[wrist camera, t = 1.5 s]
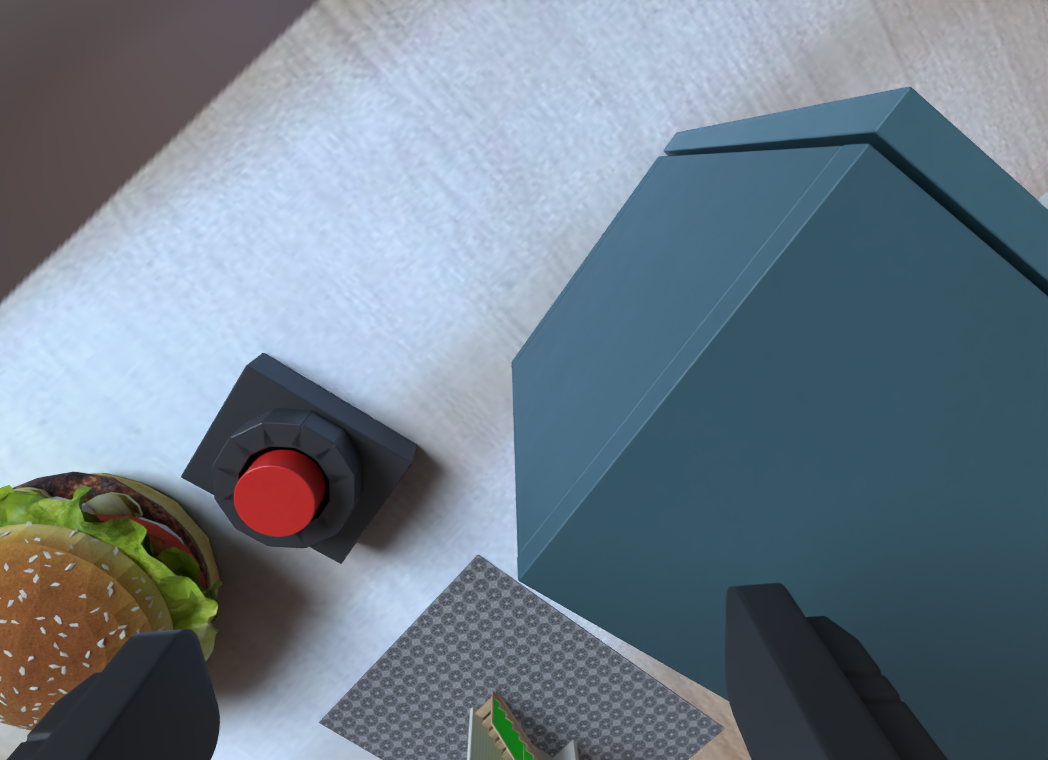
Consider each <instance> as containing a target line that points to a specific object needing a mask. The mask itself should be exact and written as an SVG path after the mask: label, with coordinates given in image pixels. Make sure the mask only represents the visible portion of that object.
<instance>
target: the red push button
mask: <svg viewBox="0 0 1048 760" xmlns="http://www.w3.org/2000/svg"><path fill="white" fill-rule="evenodd" d="M324 493H325V481H324V477H323V475H322V472H321V471H320V469H319V468H318V466H317V465H316V464H315V463H314V462H313V461H312V460H311V459H310V458H308V457H307V456H305V455H303V454H301V453H299V452H296V451H292V450H274V451H270V452H267V453H265V454H263V455H261V456H260V457H259V458H257V459H256V460H255V461H254V463H253V464H252V465H251V466H250V467H249V468H248V470H247V471H246V472H245V473H244V474H243V476H242V477H241V478H240V479H239V481H238V482H237V484H236V487H235V490H234V505H235V508H236V510H237V513H238V515H239V516H240V518H241V519H242V520H243V521H244V522H245V523H246V524H247V525H248V526H249V527H250V528H252V529H253V530H255V531H257V532H259V533H261V534H264V535H268V536H274V537H283V536H289V535H292V534H295V533H297V532H299V531H301V530H302V529H304V528H305V527H306V526H307V525H308V524H309V523H310V521H311V520H312V518H313V516H314V514H315V512H316V511H317V509H318V507H319V505H320V503H321V501H322V500H323V497H324Z"/></svg>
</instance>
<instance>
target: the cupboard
mask: <svg viewBox="0 0 1048 760" xmlns="http://www.w3.org/2000/svg"><path fill="white" fill-rule="evenodd" d="M512 383H513V415H514V448H515V481H516V513H517V546H518V557H517V563H518V580H519V581H520V582H522V583H523V584H525V585H527V586H529V587H530V588H532V589H534V590H536V591H537V592H539V593H541V594H543V595H544V596H546V597H548V598H550V599H551V600H553V601H555V602H557V603H558V604H560V605H562V606H564V607H565V608H567V609H569V610H571V611H572V612H574V613H576V614H578V615H579V616H581V617H583V618H585V619H586V620H588V621H590V622H592V623H593V624H595V625H597V626H599V627H600V628H602V629H604V630H606V631H607V632H609V633H611V634H613V635H614V636H616V637H618V638H620V639H621V640H623V641H625V642H627V643H628V644H630V645H632V646H634V647H635V648H637V649H639V650H641V651H642V652H644V653H646V654H647V655H649V656H651V657H653V658H654V659H656V660H658V661H660V662H661V663H663V664H665V665H667V666H668V667H670V668H672V669H674V670H675V671H677V672H679V673H681V674H682V675H684V676H686V677H688V678H689V679H691V680H693V681H695V682H696V683H698V684H700V685H702V686H703V687H705V688H707V689H709V690H710V691H712V692H714V693H716V694H717V695H719V696H721V697H723V698H724V699H726V700H728V701H729V698H728V693H727V688H726V681H725V625H726V595H727V591H728V588H729V587H731V586H743V585H756V584H768V583H781V584H783V585H784V586H785V587H786V588H787V590H788V591H789V593H790V594H791V596H792V597H793V599H794V600H795V602H796V603H797V605H798V606H799V608H800V609H801V611H802V612H803V614H804V615H805V617H814V616H826V617H828V618H829V619H830V620H832V621H833V622H835V623H836V624H837V625H839V626H840V627H841V628H843V629H844V630H846V631H847V632H848V633H850V634H851V635H853V636H854V637H855V638H857V639H858V640H859V641H860V643H861V644H862V645H863V647H864V648H865V649H866V651H867V652H868V653H869V655H870V656H871V657H872V659H873V660H874V661H875V663H876V664H877V665H878V667H879V668H880V671H881V674H882V676H883V675H885V676H886V677H887V679H888V680H889V681H890V683H891V684H892V685H893V687H894V688H895V689H896V691H897V692H898V693H899V695H900V700H901V701H902V702H905V703H906V704H907V705H908V707H909V708H910V709H911V711H912V712H913V713H914V715H915V716H916V717H917V719H918V720H919V721H920V723H921V724H922V726H923V727H924V728H925V730H926V731H927V732H928V734H929V735H930V736H931V738H932V739H933V740H934V742H935V743H936V744H937V746H938V747H939V748H940V750H941V751H942V752H943V754H944V755H945V756H946V758H947V759H948V760H1048V296H1047V295H1046V294H1045V293H1044V292H1042V291H1041V290H1040V289H1039V288H1038V287H1037V286H1035V285H1034V284H1033V283H1032V282H1031V281H1030V280H1028V279H1027V278H1026V277H1025V276H1024V275H1023V274H1021V273H1020V272H1019V271H1018V270H1017V269H1016V268H1014V267H1013V266H1012V265H1011V264H1010V263H1008V262H1007V261H1006V260H1005V259H1004V258H1003V257H1001V256H1000V255H999V254H998V253H997V252H996V251H994V250H993V249H992V248H991V247H990V246H989V245H987V244H986V243H985V242H984V241H983V240H982V239H980V238H979V237H978V236H977V235H976V234H974V233H973V232H972V231H971V230H970V229H969V228H967V227H966V226H965V225H964V224H963V223H962V222H960V221H959V220H958V219H957V218H956V217H955V216H953V215H952V214H951V213H950V212H949V211H948V210H946V209H945V208H944V207H943V206H942V205H940V204H939V203H938V202H937V201H936V200H935V199H933V198H932V197H931V196H930V195H929V194H928V193H926V192H925V191H924V190H923V189H922V188H921V187H919V186H918V185H917V184H916V183H915V182H914V181H912V180H911V179H910V178H909V177H908V176H907V175H905V174H904V173H903V172H902V171H901V170H899V169H898V168H897V167H896V166H895V165H894V164H892V163H891V162H890V161H889V160H888V159H887V158H885V157H884V156H883V155H882V154H881V153H880V152H878V151H877V150H876V149H875V148H874V147H873V146H871V145H870V144H852V145H844V146H830V147H814V148H797V149H781V150H764V151H748V152H732V153H715V154H699V155H682V156H666V157H664V156H661V157H658V158H657V160H656V161H655V162H654V164H653V165H652V167H651V168H650V169H649V171H648V172H647V174H646V175H645V176H644V178H643V179H642V181H641V182H640V183H639V185H638V186H637V188H636V189H635V190H634V192H633V193H632V195H631V196H630V197H629V199H628V200H627V202H626V203H625V204H624V206H623V207H622V208H621V210H620V211H619V213H618V214H617V215H616V217H615V218H614V220H613V221H612V222H611V224H610V225H609V227H608V228H607V229H606V231H605V232H604V234H603V235H602V236H601V238H600V239H599V241H598V242H597V243H596V245H595V246H594V248H593V249H592V250H591V252H590V253H589V255H588V256H587V257H586V259H585V260H584V262H583V263H582V264H581V266H580V267H579V269H578V270H577V271H576V273H575V274H574V276H573V277H572V278H571V280H570V281H569V283H568V284H567V285H566V287H565V288H564V290H563V291H562V292H561V294H560V295H559V297H558V298H557V299H556V301H555V302H554V304H553V305H552V306H551V308H550V309H549V311H548V312H547V313H546V315H545V316H544V318H543V319H542V320H541V322H540V323H539V325H538V326H537V327H536V329H535V330H534V332H533V333H532V334H531V336H530V337H529V339H528V340H527V341H526V343H525V344H524V346H523V347H522V348H521V350H520V351H519V353H518V354H517V355H516V357H515V358H514V360H513V361H512Z"/></svg>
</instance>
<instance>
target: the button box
mask: <svg viewBox="0 0 1048 760" xmlns="http://www.w3.org/2000/svg"><path fill="white" fill-rule="evenodd" d="M416 448H417V445H416V444H414V443H413V442H411V441H409V440H408V439H406V438H404V437H403V436H401V435H399V434H398V433H396V432H394V431H393V430H391V429H389V428H388V427H386V426H384V425H383V424H381V423H379V422H378V421H376V420H374V419H373V418H371V417H369V416H368V415H366V414H364V413H363V412H361V411H359V410H358V409H356V408H354V407H353V406H351V405H349V404H348V403H346V402H344V401H343V400H341V399H339V398H338V397H336V396H334V395H333V394H331V393H329V392H328V391H326V390H324V389H323V388H321V387H319V386H318V385H316V384H314V383H313V382H311V381H309V380H308V379H306V378H304V377H303V376H301V375H299V374H298V373H296V372H295V371H293V370H291V369H290V368H288V367H286V366H285V365H283V364H281V363H280V362H278V361H276V360H275V359H273V358H271V357H270V356H268V355H266V354H265V353H262V354H261V355H259V356H258V357H257V358H256V359H254V360H253V361H252V362H250V363H249V364H248V365H246V367H245V368H244V370H243V372H242V374H241V375H240V377H239V379H238V380H237V382H236V384H235V385H234V387H233V389H232V391H231V392H230V394H229V396H228V397H227V399H226V401H225V402H224V404H223V406H222V408H221V409H220V411H219V413H218V414H217V416H216V418H215V420H214V421H213V423H212V425H211V426H210V428H209V430H208V431H207V433H206V435H205V437H204V438H203V440H202V442H201V443H200V445H199V447H198V448H197V450H196V452H195V454H194V455H193V457H192V459H191V460H190V462H189V464H188V465H187V467H186V469H185V471H184V472H183V474H182V476H181V477H182V478H183V479H185V480H187V481H189V482H191V483H193V484H194V485H196V486H198V487H200V488H202V489H204V490H205V491H207V492H209V493H211V494H213V495H214V496H215V500H216V502H217V503H218V505H219V506H220V507H221V509H222V510H223V512H224V513H225V514H226V516H227V517H228V519H229V520H230V521H231V523H232V524H233V526H234V527H235V528H236V529H237V530H239V531H241V532H243V533H244V534H246V535H248V536H250V537H252V538H254V539H256V540H257V541H259V542H261V543H263V544H265V545H267V546H273V547H291V548H307V547H311V548H313V549H314V550H316V551H318V552H320V553H322V554H324V555H325V556H327V557H329V558H331V559H333V560H335V561H337V562H338V563H340V564H341V563H342V562H343V561H344V559H345V558H346V556H347V555H348V554H349V552H350V551H351V549H352V548H353V546H354V545H355V544H356V542H357V541H358V539H359V538H360V536H361V535H362V534H363V532H364V531H365V529H366V528H367V526H368V525H369V524H370V522H371V521H372V519H373V518H374V516H375V515H376V514H377V512H378V511H379V509H380V508H381V506H382V505H383V504H384V502H385V501H386V499H387V498H388V496H389V495H390V494H391V492H392V491H393V489H394V488H395V486H396V485H397V484H398V482H399V481H400V479H401V478H402V476H403V475H404V474H405V472H406V471H407V469H408V468H409V466H410V465H411V463H412V460H413V457H414V454H415V451H416ZM274 450H292V451H296V452H299V453H301V454H303V455H305V456H307V457H308V458H310V459H311V460H312V461H313V462H314V463H315V464H316V465H317V466H318V468H319V469H320V471H321V472H322V475H323V477H324V481H325V493H324V497H323V500H322V501H321V503H320V505H319V507H318V509H317V511H316V512H315V514H314V516H313V518H312V520H311V521H310V523H309V524H308V525H307V526H306V527H305V528H304V529H302V530H301V531H299V532H297V533H295V534H292V535H289V536H283V537H274V536H268V535H264V534H261V533H259V532H257V531H255V530H253V529H252V528H250V527H249V526H248V525H247V524H246V523H245V522H244V521H243V520H242V519H241V518H240V516H239V515H238V513H237V510H236V508H235V505H234V490H235V487H236V484H237V482H238V481H239V479H240V478H241V477H242V476H243V474H244V473H245V472H246V471H247V470H248V468H249V467H250V466H251V465H252V464H253V463H254V461H255V460H256V459H257V458H259V457H260V456H261V455H263V454H265V453H267V452H270V451H274Z"/></svg>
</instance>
